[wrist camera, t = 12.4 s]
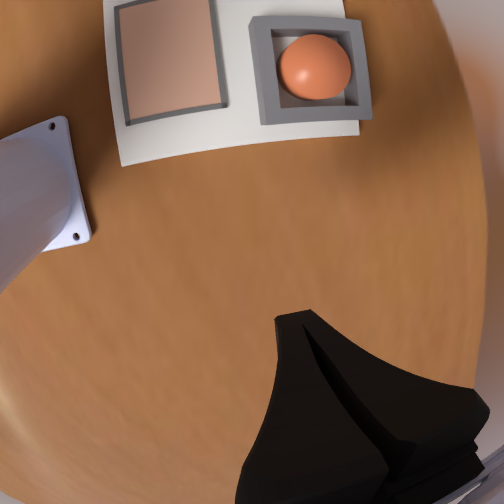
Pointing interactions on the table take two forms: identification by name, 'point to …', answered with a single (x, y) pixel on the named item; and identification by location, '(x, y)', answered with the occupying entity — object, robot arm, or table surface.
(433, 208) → the table surface
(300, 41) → the button
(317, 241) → the table surface
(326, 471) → the robot arm
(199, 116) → the picture board
